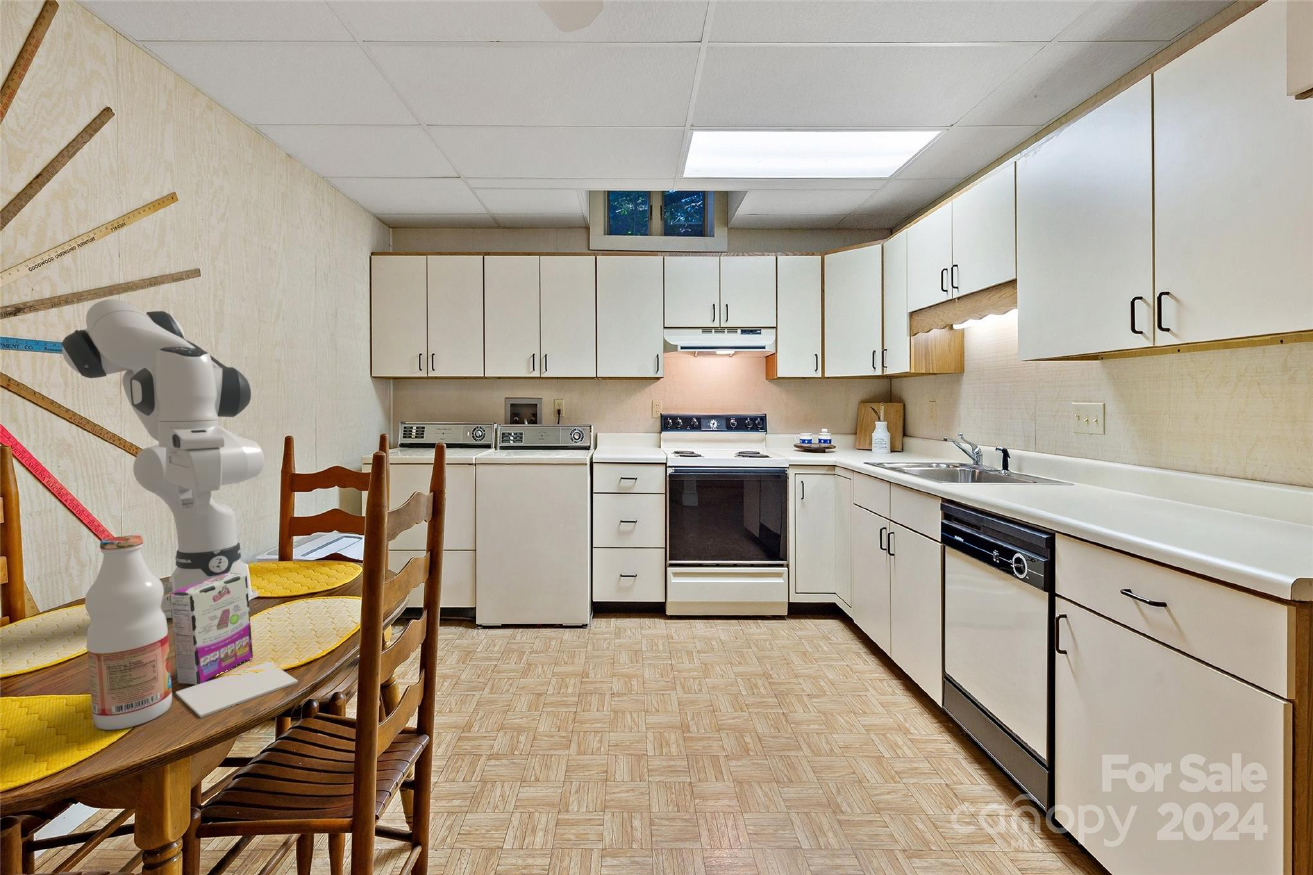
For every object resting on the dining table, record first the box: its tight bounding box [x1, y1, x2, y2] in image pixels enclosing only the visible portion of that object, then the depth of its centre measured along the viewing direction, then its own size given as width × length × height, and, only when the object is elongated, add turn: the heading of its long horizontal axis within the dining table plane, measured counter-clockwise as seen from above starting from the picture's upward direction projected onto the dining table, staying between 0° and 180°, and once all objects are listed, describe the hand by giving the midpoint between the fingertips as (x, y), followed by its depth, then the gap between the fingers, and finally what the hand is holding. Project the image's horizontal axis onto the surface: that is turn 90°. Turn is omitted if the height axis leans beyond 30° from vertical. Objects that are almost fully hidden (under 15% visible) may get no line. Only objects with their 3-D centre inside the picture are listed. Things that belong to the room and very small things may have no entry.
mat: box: [175, 661, 299, 719], centre depth 103 cm, size 12×14×1 cm
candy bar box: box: [169, 573, 254, 686], centre depth 108 cm, size 11×5×16 cm, turn 168°
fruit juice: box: [84, 534, 173, 731], centre depth 93 cm, size 9×9×28 cm
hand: (194, 511), depth 112 cm, fingers open, 8 cm apart
